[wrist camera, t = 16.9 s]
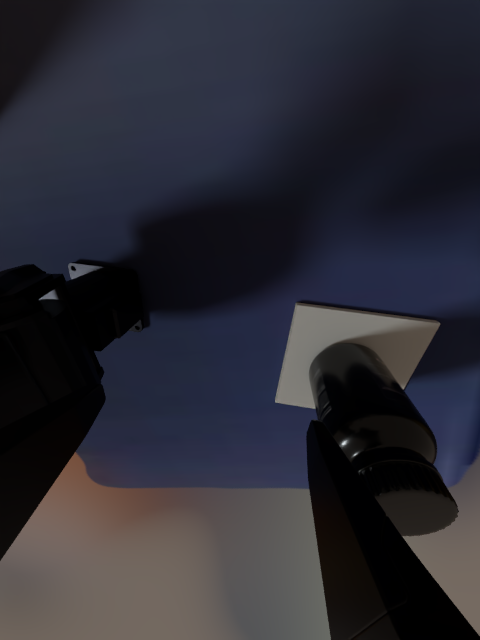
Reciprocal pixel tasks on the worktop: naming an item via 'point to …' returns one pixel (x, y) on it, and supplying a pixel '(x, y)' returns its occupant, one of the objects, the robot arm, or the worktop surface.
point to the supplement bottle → (382, 437)
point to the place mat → (349, 327)
